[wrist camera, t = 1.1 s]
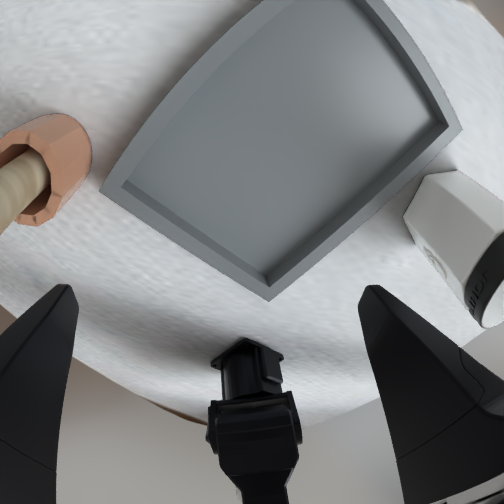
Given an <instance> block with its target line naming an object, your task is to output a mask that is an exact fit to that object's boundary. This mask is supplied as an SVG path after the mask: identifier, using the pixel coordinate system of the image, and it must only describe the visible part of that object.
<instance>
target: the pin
mask: <svg viewBox="0 0 504 504" xmlns="http://www.w3.org/2000/svg"><path fill="white" fill-rule="evenodd" d="M49 184H51V173H50V171H49V169H48V167H47V165H46V163H45V161H44V159H43V157H42V154H40V153H39V152H38V151H36V150H35V149H34V148H31V149H29V150H28V151H26V152H24V153H23V154H21V155H20V156H18V157H17V158H15V159H14V160H12V161H11V162H9V163H8V164H6V165H5V166H4V167H2V168H1V169H0V235H1V234H2V232H3V231H4V230H5V229H6V228H7V227H8V226H9V225H10V223H11V222H12V221H13V220H14V219H15V218H16V217H17V216H18V215H19V214H20V213H21V212H22V211H23V210H24V209H25V208H26V207H27V206H28V205H29V204H30V203H31V202H32V201H33V200H34V199H35V198H36V197H37V196H38V195H39V194H40V193H41V192H42V191H43V190H44V189H45V188H46V187H47V186H48V185H49Z"/></svg>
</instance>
